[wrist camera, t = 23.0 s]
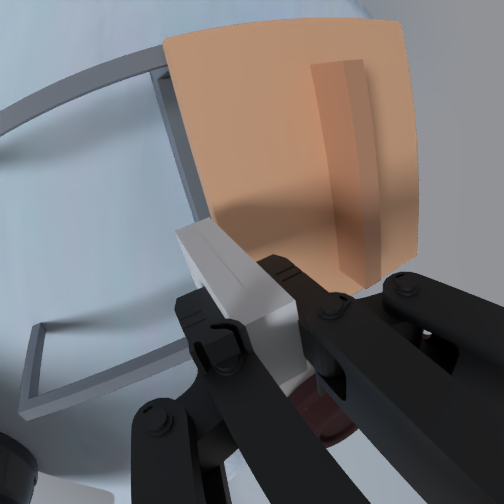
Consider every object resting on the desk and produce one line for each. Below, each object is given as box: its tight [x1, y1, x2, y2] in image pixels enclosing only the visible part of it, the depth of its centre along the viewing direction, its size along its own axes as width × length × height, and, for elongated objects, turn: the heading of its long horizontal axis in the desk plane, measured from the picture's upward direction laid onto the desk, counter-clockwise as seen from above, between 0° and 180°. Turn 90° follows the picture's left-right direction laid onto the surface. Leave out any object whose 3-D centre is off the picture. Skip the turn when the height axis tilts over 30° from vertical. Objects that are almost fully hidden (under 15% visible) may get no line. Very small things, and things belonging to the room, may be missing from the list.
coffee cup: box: [279, 359, 358, 448], centre depth 29 cm, size 10×10×15 cm
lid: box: [162, 18, 419, 296], centre depth 16 cm, size 14×17×4 cm
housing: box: [0, 45, 212, 421], centre depth 20 cm, size 32×17×10 cm, turn 104°
